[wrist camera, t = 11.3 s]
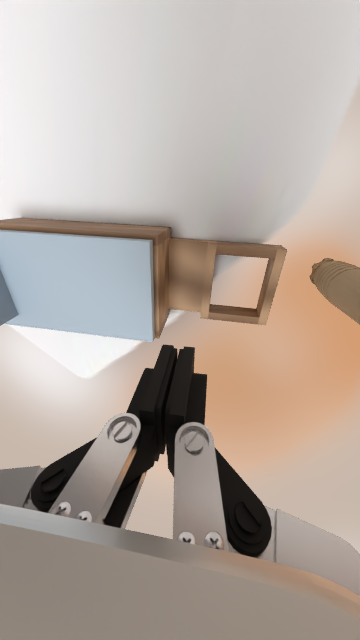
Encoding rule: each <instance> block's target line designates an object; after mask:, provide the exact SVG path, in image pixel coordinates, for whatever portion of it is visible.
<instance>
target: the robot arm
mask: <svg viewBox="0 0 360 640" xmlns="http://www.w3.org/2000/svg"><path fill="white" fill-rule="evenodd" d="M194 353H195V348H194V347H184V349H180V351H179V355H178V359H177V349H175V348H174V347H173V346H172V345H163V346H162V348H161V351H160V354H159V356H158V359H157V362H156V364H155V367H154V369H150V368H146V369H145V370H144V372H143V374H142V377H141V379H140V381H139V384H138V386H137V388H136V391H135V393H134V396H133V398H132V400H131V403H130V405H129V408H128V410H127V412H126V413H121V414H118V415H116V416H114V417H113V418H111V419H110V420H109V421H108V423H106V425H105V426H104V428H103V429H102V431H101V432H100V434H99V436H98V437H97V438H95V439H93V440H92V441H90V442H88V443H86V444H85V445H83V446H81V447H80V448H78V449H76V450H75V451H73V452H71V453H69V454H67V455H66V456H64V457H62V458H61V459H59V460H57V461H55V462H54V463H52V464H50V465H49V466H48V467H46V468H41V467H40V466H33V467H23V468H12V469H3V470H0V640H360V554H359V553H358V552H357V551H356V550H355V549H354V548H353V547H352V546H351V545H350V544H349V543H348V542H346V541H345V540H343V539H341V538H340V537H338V536H336V535H333V534H331V533H329V532H327V531H325V530H322V529H320V528H318V527H316V526H314V525H311V524H309V523H307V522H305V521H302V520H300V519H298V518H296V517H294V516H292V515H289V514H287V513H285V512H283V511H281V510H278V509H277V510H276V511H275V510H273V509H270V508H268V507H266V506H264V505H263V504H262V502H261V501H260V499H259V498H258V497H257V496H256V495H255V494H254V492H253V491H252V490H251V489H250V488H249V487H248V486H247V484H246V483H245V482H244V481H243V480H242V478H241V477H240V476H239V475H238V474H237V473H236V472H235V470H234V469H233V468H232V467H231V466H230V465H229V463H228V462H227V461H226V460H225V459H224V458H223V456H222V455H221V454H220V453H219V452H218V451H217V449H216V448H215V447H214V440H213V436H212V434H211V432H210V431H209V429H208V428H206V427H205V426H204V422H205V404H206V403H205V402H206V386H207V375H206V374H197V373H194ZM165 446H167V455H168V469H169V470H170V472H171V473H172V475H173V477H174V514H173V539H168V538H163V537H158V536H154V535H149V534H144V533H140V532H135V531H130V530H126V529H125V527H126V524H127V522H128V519H129V517H130V514H131V512H132V509H133V507H134V504H135V502H136V499H137V497H138V494H139V491H140V489H141V486H142V484H143V481H144V479H145V476H146V472H147V470H149V469H150V468H151V467H153V465H154V461H158V459H159V455H160V454H164V451H165Z"/></svg>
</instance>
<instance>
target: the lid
mask: <svg viewBox="0 0 360 640" xmlns="http://www.w3.org/2000/svg"><path fill="white" fill-rule="evenodd" d="M4 323H6V324H10V325H19V326H27V327H35V328H43V329H51V330H59V331H67V332H75V333H83V334H91V335H99V336H108V337H116V338H124V339H132V340H140V341H149V342H153V341H154V338H155V319H154V280H153V240H145V239H131V238H116V237H102V236H87V235H73V234H58V233H44V232H29V231H15V230H0V326H1V325H2V324H4Z"/></svg>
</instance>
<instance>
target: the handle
mask: <svg viewBox="0 0 360 640" xmlns="http://www.w3.org/2000/svg"><path fill="white" fill-rule="evenodd" d="M312 268H313V271H312V274H311V275H310V279H311V281H312V283H313V284H315V285H316V287H317V289H318V290H319V291H320V292H321V293H322V295H323V296H324V297H326V299H327V300H328V301H329V302H331V303H332V304H333V305H334V306H336V307H337V308H338V309H340V310H341V311H342V312H344V313H345V314H347V315H348V316H349V317H351V318H352V319H353V320H354V321H356V322H357V323H358V324H360V268H358V267H356V266H354V265H351V264H348V263H345V262H341V261H334V260H333V259H329V258H326V259H323V261H322V262H320V263H317V264H314V265H313V266H312Z"/></svg>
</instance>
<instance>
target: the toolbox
mask: <svg viewBox="0 0 360 640" xmlns="http://www.w3.org/2000/svg"><path fill="white" fill-rule="evenodd" d="M0 230H15V231H29V232H44V233H58V234H73V235H87V236H102V237H116V238H131V239H145V240H153V280H154V319H155V338H159V337H160V335H161V332H162V330H163V328H164V325H165V323H166V320H167V318H168V315H169V309H175V310H184V311H194V312H201V318H204V319H213V320H222V321H232V322H241V323H250V324H260V325H266V322H267V319H268V315H269V312H270V308H271V305H272V301H273V298H274V294H275V291H276V287H277V284H278V280H279V277H280V273H281V270H282V266H283V263H284V259H285V256H286V252H287V249H285V248H284V247H282V246H281V245H267V244H252V243H237V242H222V241H207V240H192V239H177V238H170V227H160V226H144V225H128V224H112V223H95V222H79V221H63V220H46V219H30V218H16V219H6V220H0ZM216 254H219V255H233V256H246V257H260V258H269V260H268V264H267V268H266V272H265V277H264V281H263V284H262V288H261V292H260V297H259V300H258V305H257V308H256V309H252V308H242V307H232V306H222V305H212V304H210V297H211V289H212V281H213V273H214V264H215V256H216Z"/></svg>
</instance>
